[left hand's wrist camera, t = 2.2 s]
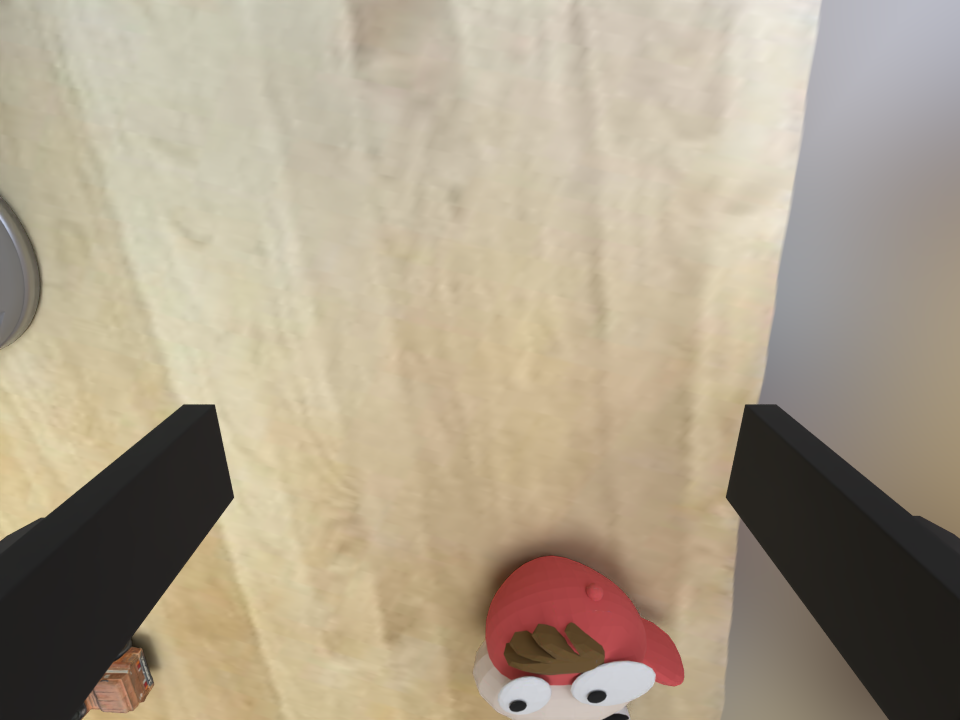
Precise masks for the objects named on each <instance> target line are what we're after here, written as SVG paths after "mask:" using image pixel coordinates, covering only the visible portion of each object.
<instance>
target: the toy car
mask: <svg viewBox="0 0 960 720" xmlns="http://www.w3.org/2000/svg"><path fill="white" fill-rule="evenodd" d="M153 686H154V682H153V678H152V676H151V673H150V671H149V668H148V666H147V662H146V659H145V656H144V652H143V650H142V648H141V647H140V648H137V647H132V641H131V639H130V640H129V641H128V643H127V644H126V645H125V647H124V648H123V650H122V651H121V652H120V654H119V655H118V656H117V658H116V659H115V660H114V662H113V663H112V665H111V666H110V667H109V669H108V670H107V671H106V673H105V674H104V675H103V677H102V678H101V680H100V681H99V682H98V684H97V685H96V686H95V688H94V689H93V690H92V692H91V693H90V695H89V696H88V697H87V699H86V700H85V701H84V703H83V704H82V705H81V707H80V708H79V709H78V711H77V712H76V714H75V715H74V716H73V718H72V719H71V720H82V719H83V717H84V716H85V715H86V714H87V713H88V712H89V710H91V709H101V711H103V712H116V713H128V712H129V711H133V710H134V709H135V708H136V707H137V706H138V704H139V703H141V702H144V701H145V699H146V697H147V695H148V694H149V692H150V691H151V689H152V687H153Z"/></svg>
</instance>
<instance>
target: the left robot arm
mask: <svg viewBox="0 0 960 720" xmlns="http://www.w3.org/2000/svg"><path fill="white" fill-rule="evenodd" d="M39 293H40V278H39V271H38V265H37V261H36V257H35V254H34V251H33V248H32V245H31V243H30V241H29V238H28V236H27V234H26V232H25V230H24V228H23V227H22V225H21V223H20V221H19V220H18V218H17V217H16V215H15V214H14V212H13V211H12V210H11V208H10V207H9V206H8V204H7V203H6V202H5V201H4V199H3V198H2V197H1V196H0V349H2V348H4V347H6V346H8V345H10V344H11V343H13V342H14V341H15V340H17V339H18V338H19V337H20V336H21V335H22V334H23V333H24V332H25V330H26V329H27V328H28V326H29V325H30V323H31V321H32V319H33V317H34V315H35V312H36V309H37V306H38V301H39ZM233 498H234V494H233V490H232V485H231V480H230V475H229V471H228V466H227V461H226V456H225V451H224V447H223V442H222V437H221V432H220V427H219V423H218V418H217V413H216V408H215V405H183V406H181V407H180V408H179V409H178V410H176V411H175V412H174V413H173V414H172V415H170V416H169V417H168V418H167V419H165V420H164V421H163V422H162V423H160V424H159V425H158V426H157V427H156V428H154V429H153V430H152V431H151V432H149V433H148V434H147V435H146V436H145V437H143V438H142V439H141V440H140V441H138V442H137V443H136V444H135V445H134V446H132V447H131V448H130V449H129V450H127V451H126V452H125V453H124V454H122V455H121V456H120V457H119V458H118V459H116V460H115V461H114V462H113V463H111V464H110V465H109V466H108V467H107V468H105V469H104V470H103V471H102V472H100V473H99V474H98V475H97V476H96V477H94V478H93V479H92V480H91V481H89V482H88V483H87V484H86V485H84V486H83V487H82V488H81V489H80V490H78V491H77V492H76V493H75V494H73V495H72V496H71V497H70V498H69V499H67V500H66V501H65V502H64V503H62V504H61V505H60V506H59V507H58V508H56V509H55V510H54V511H53V512H51V513H50V514H49V515H48V516H46V517H45V518H39V519H38V520H36V521H34V522H32V523H30V524H28V525H26V526H25V527H23V528H21V529H19V530H17V531H15V532H13V533H12V534H10V535H8V536H6V537H5V538H4V539H2V540H1V541H0V720H71V719H72V718H73V716H74V715H75V714H76V712H77V711H78V709H79V708H80V707H81V705H82V704H83V703H84V701H85V700H86V699H87V697H88V696H89V695H90V693H91V692H92V690H93V689H94V688H95V686H96V685H97V684H98V682H99V681H100V680H101V678H102V677H103V675H104V674H105V673H106V671H107V670H108V669H109V667H110V666H111V665H112V663H113V662H114V660H115V659H116V658H117V656H118V655H119V654H120V652H121V651H122V650H123V648H124V647H125V645H126V644H127V643H128V641H129V640H130V639H131V637H132V636H133V635H134V633H135V632H136V631H137V629H138V628H139V626H140V625H141V624H142V622H143V621H144V620H145V618H146V617H147V616H148V614H149V613H150V611H151V610H152V609H153V607H154V606H155V605H156V603H157V602H158V601H159V599H160V598H161V596H162V595H163V594H164V592H165V591H166V590H167V588H168V587H169V586H170V584H171V583H172V582H173V580H174V579H175V577H176V576H177V575H178V573H179V572H180V571H181V569H182V568H183V567H184V565H185V564H186V562H187V561H188V560H189V558H190V557H191V556H192V554H193V553H194V552H195V550H196V549H197V547H198V546H199V545H200V543H201V542H202V541H203V539H204V538H205V537H206V535H207V534H208V532H209V531H210V530H211V528H212V527H213V526H214V524H215V523H216V522H217V520H218V519H219V518H220V516H221V515H222V513H223V512H224V511H225V509H226V508H227V507H228V505H229V504H230V503H231V501H232V500H233ZM726 498H727V500H728V501H729V503H730V504H731V505H732V507H733V508H734V509H735V511H736V512H737V513H738V515H739V516H740V518H741V519H742V520H743V522H744V523H745V524H746V526H747V527H748V528H749V530H750V531H751V532H752V534H753V535H754V537H755V538H756V539H757V541H758V542H759V543H760V545H761V546H762V547H763V549H764V550H765V552H766V553H767V554H768V556H769V557H770V558H771V560H772V561H773V562H774V564H775V565H776V566H777V568H778V569H779V570H780V572H781V573H782V575H783V576H784V577H785V579H786V580H787V581H788V583H789V584H790V585H791V587H792V588H793V590H794V591H795V592H796V594H797V595H798V596H799V598H800V599H801V601H802V602H803V603H804V605H805V606H806V607H807V609H808V610H809V611H810V613H811V614H812V615H813V617H814V618H815V620H816V621H817V622H818V624H819V625H820V626H821V628H822V629H823V631H824V632H825V633H826V635H827V636H828V637H829V639H830V640H831V641H832V643H833V644H834V645H835V647H836V648H837V650H838V651H839V652H840V654H841V655H842V656H843V658H844V659H845V660H846V662H847V663H848V665H849V666H850V667H851V669H852V670H853V671H854V673H855V674H856V675H857V677H858V678H859V680H860V681H861V682H862V684H863V685H864V686H865V688H866V689H867V690H868V692H869V693H870V694H871V696H872V697H873V699H874V700H875V701H876V703H877V704H878V705H879V707H880V708H881V709H882V711H883V712H884V714H885V715H886V716H887V718H888V719H889V720H960V539H959V538H958V537H957V536H956V535H954V534H953V533H951V532H949V531H947V530H945V529H943V528H941V527H939V526H938V525H936V524H934V523H932V522H930V521H928V520H926V519H925V518H923V517H921V516H912V515H911V514H910V513H909V512H907V511H906V510H905V509H904V508H902V507H901V506H900V505H899V504H898V503H896V502H895V501H894V500H893V499H891V498H890V497H889V496H888V495H886V494H885V493H884V492H883V491H882V490H880V489H879V488H878V487H877V486H876V485H874V484H873V483H872V482H871V481H869V480H868V479H867V478H866V477H864V476H863V475H862V474H861V473H860V472H858V471H857V470H856V469H855V468H853V467H852V466H851V465H850V464H848V463H847V462H846V461H845V460H844V459H842V458H841V457H840V456H839V455H837V454H836V453H835V452H834V451H833V450H831V449H830V448H829V447H828V446H826V445H825V444H824V443H823V442H822V441H820V440H819V439H818V438H817V437H815V436H814V435H813V434H812V433H811V432H809V431H808V430H807V429H806V428H804V427H803V426H802V425H801V424H800V423H798V422H797V421H796V420H795V419H793V418H792V417H791V416H790V415H788V414H787V413H786V412H785V411H783V410H782V409H781V408H780V407H779V406H777V405H745V408H744V413H743V418H742V423H741V427H740V432H739V437H738V442H737V447H736V451H735V456H734V461H733V466H732V471H731V475H730V480H729V485H728V490H727V494H726Z"/></svg>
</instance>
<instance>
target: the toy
mask: <svg viewBox="0 0 960 720" xmlns="http://www.w3.org/2000/svg"><path fill="white" fill-rule="evenodd" d="M473 676H474V679H475V682H476V685H477V688H478V690H479V693H480V695H481V696H482V697H483V698H484V699H485V700H486V701H487V702H488V703H489V704H490V705H491V706H492V707H493V708H494V709H495V710H496V711H497V712H498V713H500V714H503V715H505V716H507V717H509V718H511V719H513V720H630V716H629V713H628V710H627V707H626V705H627V704H628V703H629V702H630V701H631V700H634V699H636V698H638V697H639V696H641V695H643V694H645V693H646V692H647V691H648V690H649V689H650V688H651V687H652V686H653V684H654V682H658V683H661V684H663V685H669V686H677V685H680V684H681V683H682V682H683V680H684V668H683V665H682V661H681V657H680V655H679V652H678V650H677V648H676V646H675V644H674V643H673V641H672V640H671V638H670V637H669V635H667V634H666V633H665V632H664V631H663V630H661V629H660V628H659V627H658V626H656V625H655V624H654V623H652V622H650V621H648V620H645V619H643V618H641V617H640V615H639V613H638V612H637V610H636V608H635V606H634V605H633V603H632V602H631V600H630V599H629V598H628V597H627V596H626V594H625V593H624V592H623V591H622V590H621V589H620V588H619V587H618V586H617V585H615V584H614V583H613V582H612V581H611V580H609V579H608V578H606V577H605V576H603V575H601V574H600V573H598V572H596V571H595V570H593V569H591V568H589V567H587V566H585V565H583V564H581V563H579V562H576V561H573V560H571V559H568V558H565V557H558V556H552V555H551V556H544V557H539V558H536V559H534V560H532V561H529V562H527V563H525V564H523V565H522V566H521V567H519V568H518V569H516V570H515V571H514V572H513V573H512V574H511V575H510V576H509V577H508V578H507V579H506V580H505V581H504V583H503V584H502V585H501V587H500V588H499V589H498V591H497V592H496V594H495V596H494V598H493V600H492V602H491V604H490V608H489V611H488V615H487V619H486V639H485V640H484V642H483V643H482V644H481V646H480V647H479V649H478V650H477V652H476V658H475V663H474V669H473Z"/></svg>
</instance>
